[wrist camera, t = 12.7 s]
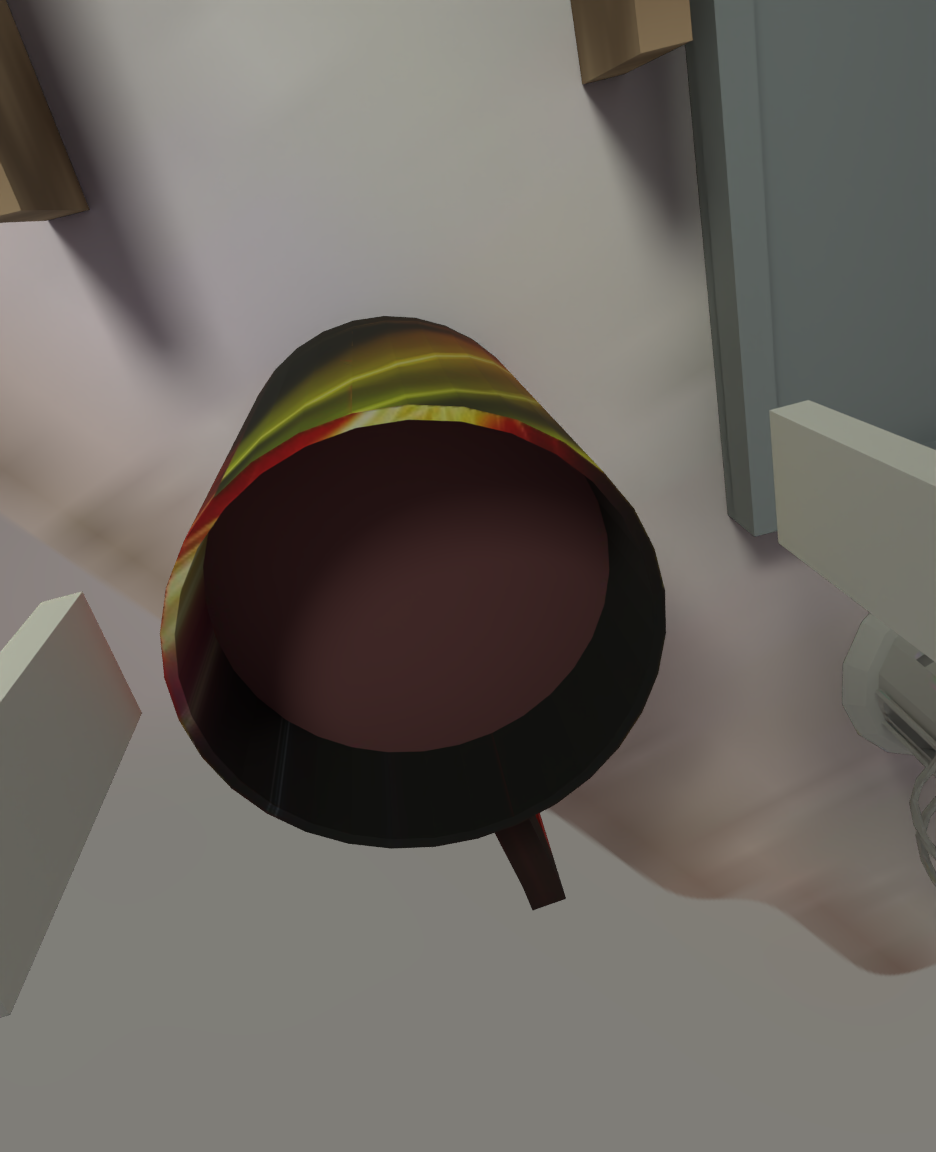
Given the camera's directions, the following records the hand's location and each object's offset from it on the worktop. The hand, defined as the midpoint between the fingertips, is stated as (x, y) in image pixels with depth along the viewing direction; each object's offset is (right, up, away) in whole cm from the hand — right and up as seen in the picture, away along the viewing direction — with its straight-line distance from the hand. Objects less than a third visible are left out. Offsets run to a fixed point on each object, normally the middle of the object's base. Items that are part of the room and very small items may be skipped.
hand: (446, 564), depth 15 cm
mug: (0, +2, +12) cm, 12 cm away
